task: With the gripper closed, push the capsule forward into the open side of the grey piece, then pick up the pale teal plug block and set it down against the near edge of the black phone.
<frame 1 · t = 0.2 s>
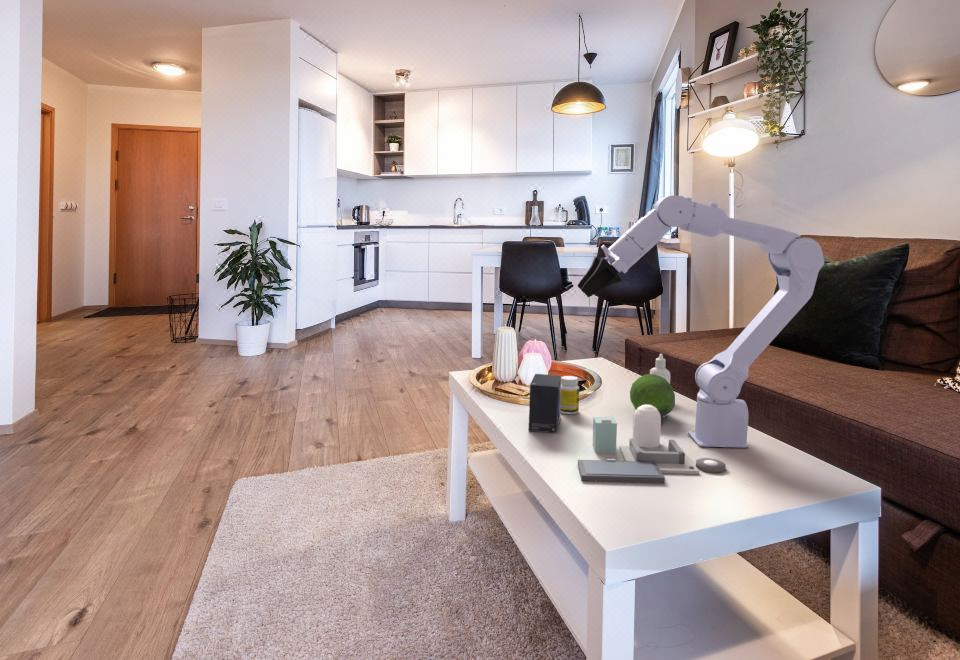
hand: (582, 291, 114), 31 cm above the table, tool tilted 45°, fingers open, 7 cm apart
eye dropper bottle: (658, 400, 147), on the table
capsule: (645, 443, 116), on the table
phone: (619, 473, 101), on the table
plug block: (604, 449, 113), on the table
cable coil: (710, 467, 104), on the table
fruit: (650, 415, 135), on the table
small box: (545, 425, 127), on the table
grey piece: (655, 457, 108), on the table
supplement bottle: (568, 412, 137), on the table
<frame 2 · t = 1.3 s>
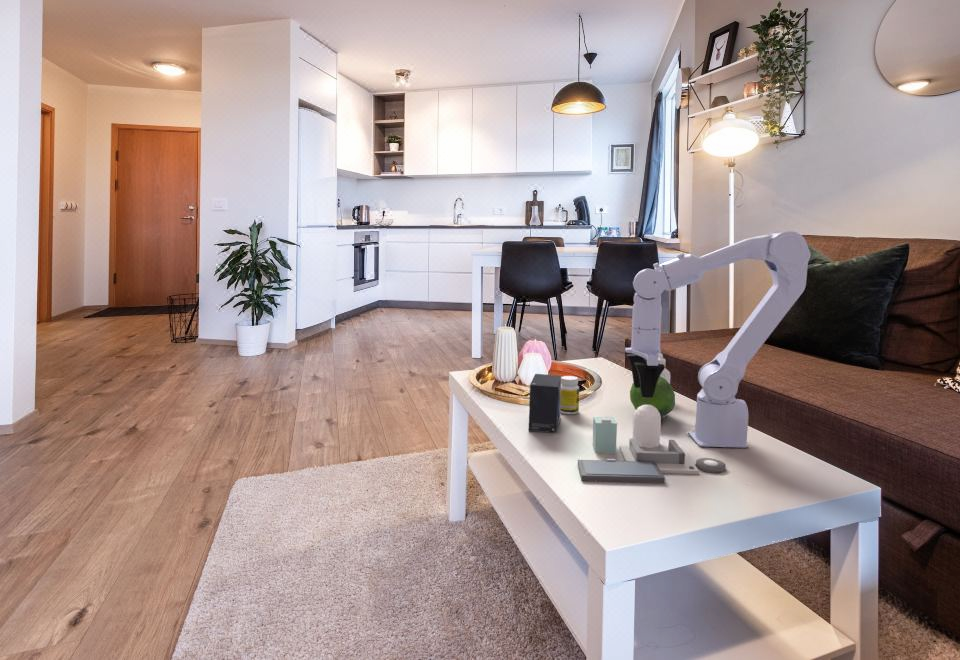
hand: (643, 392, 119), 9 cm above the table, tool pointing down, fingers open, 7 cm apart
nothing on the table moved.
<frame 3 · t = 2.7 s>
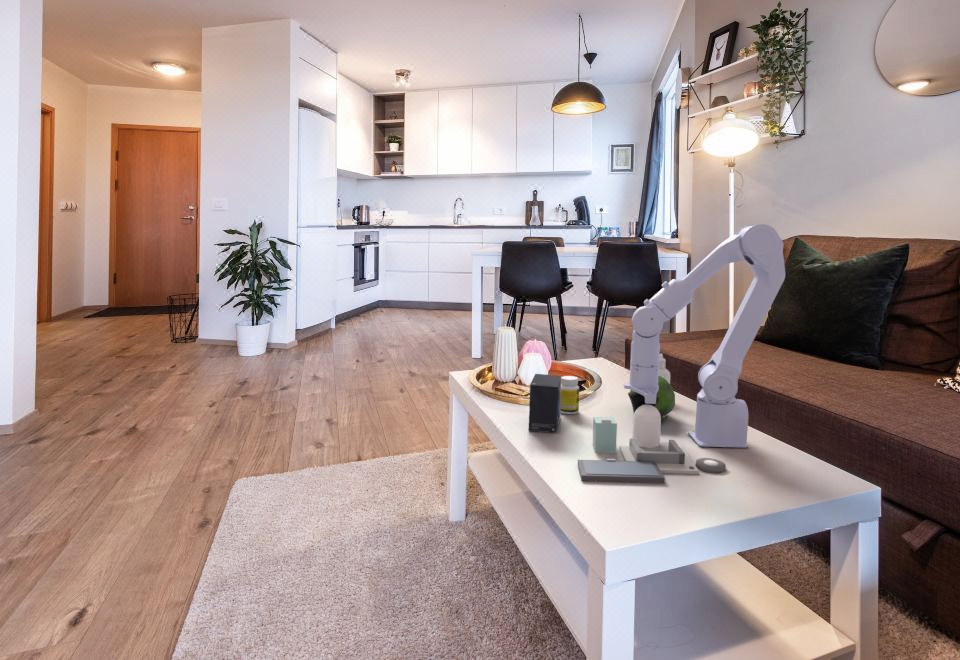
hand: (641, 427, 120), 2 cm above the table, tool pointing down, fingers closed
capsule: (645, 443, 116), on the table, touching gripper
everything else where it was.
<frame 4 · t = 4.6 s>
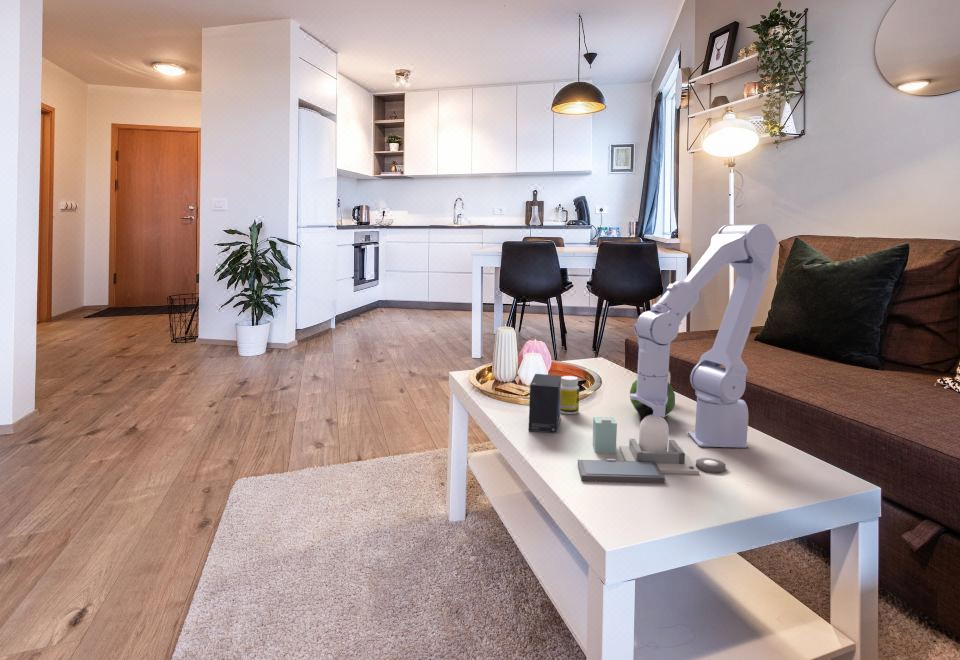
hand: (648, 440, 112), 2 cm above the table, tool pointing down, fingers closed, pressing on capsule
capsule: (652, 455, 110), on the table, touching gripper
everything else where it was.
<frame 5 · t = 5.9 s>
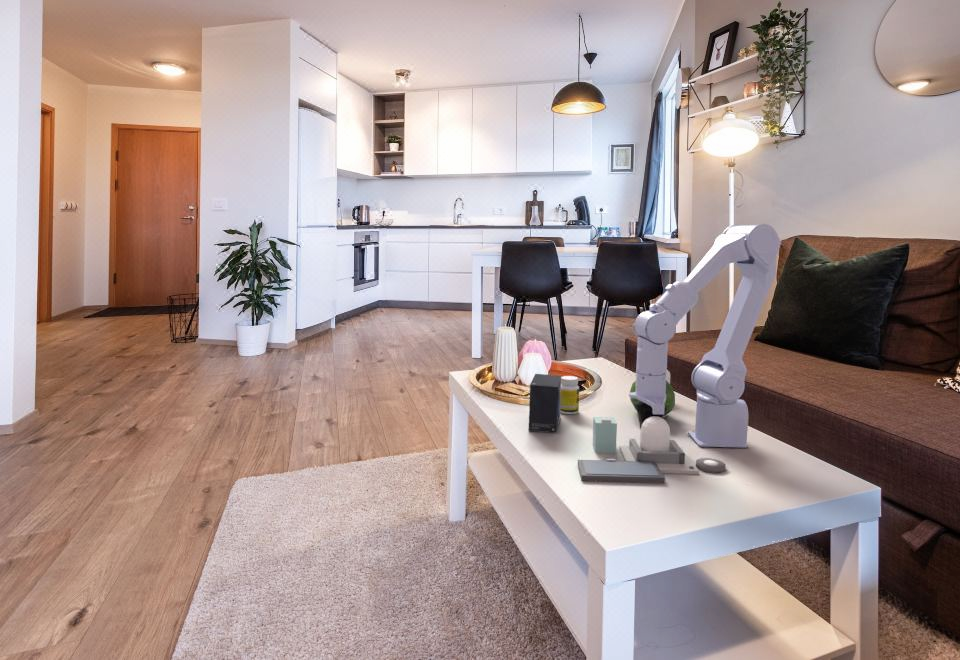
hand: (648, 438, 114), 1 cm above the table, tool pointing down, fingers closed
capsule: (654, 458, 109), on the table
everything else where it was.
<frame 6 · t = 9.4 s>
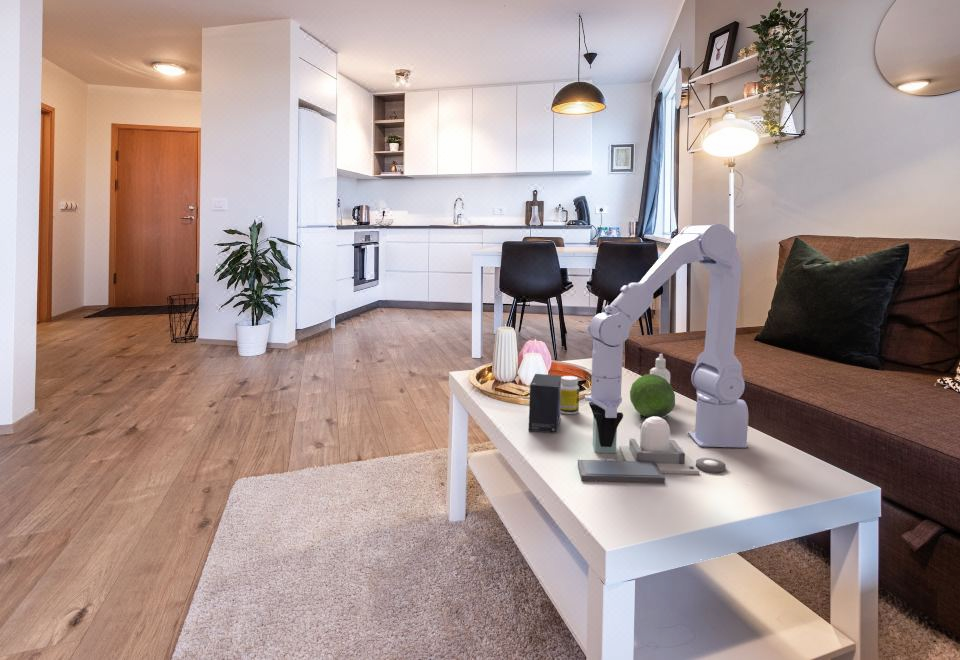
hand: (604, 442, 113), 1 cm above the table, tool pointing down, fingers closed on plug block, 4 cm apart
plug block: (604, 448, 113), on the table, touching gripper
everything else where it was.
when the fingers open (3 cm above the table, at t = 12.2 s): plug block drops 1 cm, on the table.
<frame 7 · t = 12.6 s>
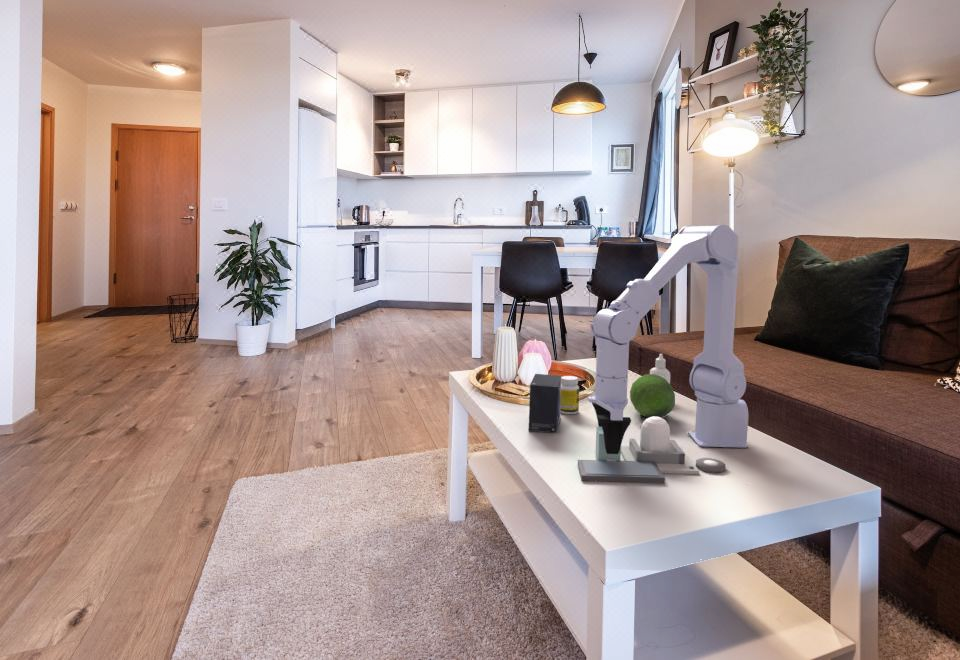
hand: (609, 445, 106), 3 cm above the table, tool pointing down, fingers open, 7 cm apart
plug block: (607, 460, 107), on the table
everything else where it was.
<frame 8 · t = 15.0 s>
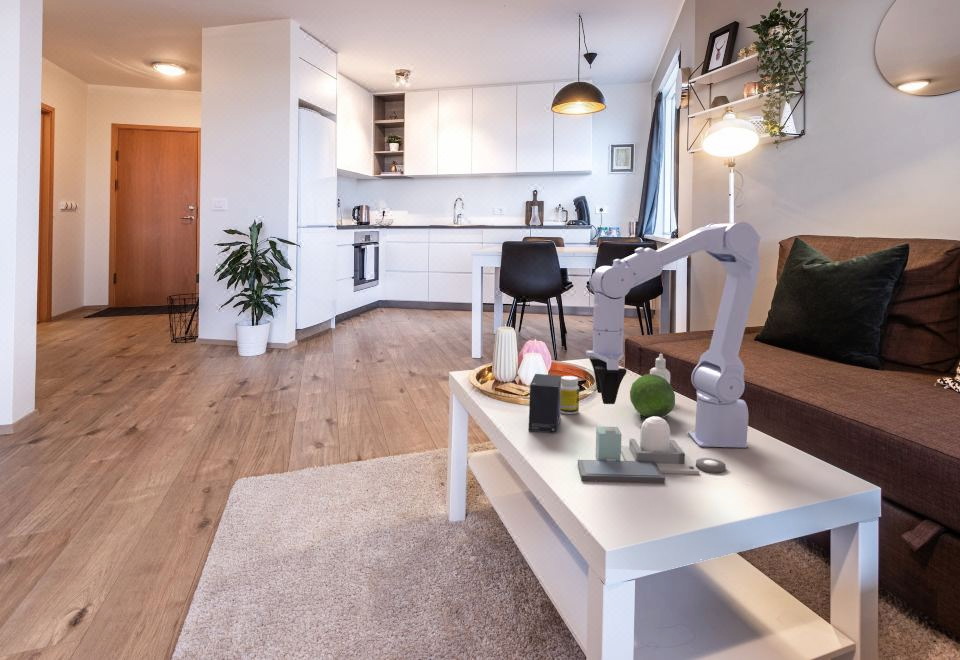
hand: (605, 397, 111), 10 cm above the table, tool pointing down, fingers open, 7 cm apart
nothing on the table moved.
at the end: capsule 0.2 cm off-centre on the grey piece, point 0.0 cm above the grey piece's base; capsule tilted 0°; plug block 0.2 cm from the target spot, on the table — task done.
